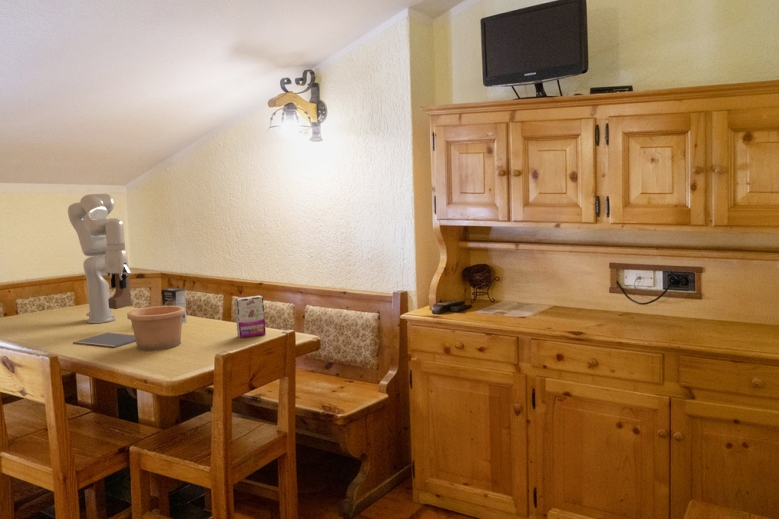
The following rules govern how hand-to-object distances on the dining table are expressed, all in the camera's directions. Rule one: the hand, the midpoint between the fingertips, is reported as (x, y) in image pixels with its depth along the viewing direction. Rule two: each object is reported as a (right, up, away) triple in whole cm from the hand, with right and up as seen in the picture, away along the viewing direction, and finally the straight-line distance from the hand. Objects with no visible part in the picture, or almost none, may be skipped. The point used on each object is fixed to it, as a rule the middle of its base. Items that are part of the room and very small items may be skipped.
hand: (118, 287), depth 288 cm
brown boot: (0, -9, +1) cm, 9 cm away
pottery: (+29, -22, -29) cm, 46 cm away
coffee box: (+21, -17, +14) cm, 31 cm away
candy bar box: (+63, -20, -17) cm, 68 cm away
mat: (+4, -22, -17) cm, 28 cm away
